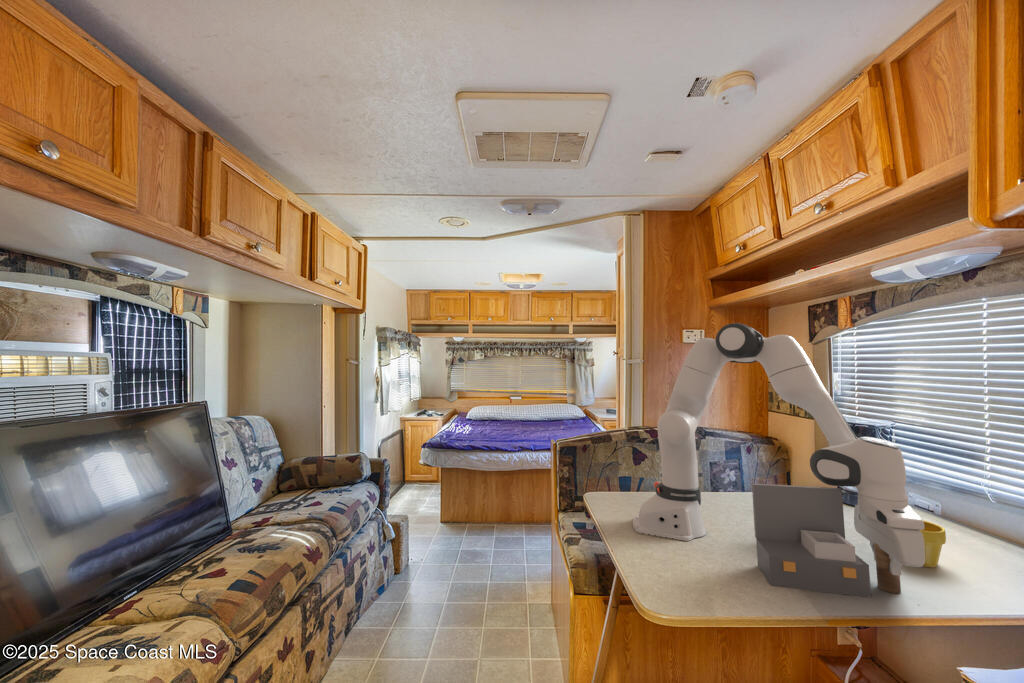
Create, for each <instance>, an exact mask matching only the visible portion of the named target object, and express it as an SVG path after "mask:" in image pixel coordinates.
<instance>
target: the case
mask: <svg viewBox="0 0 1024 683" xmlns="http://www.w3.org/2000/svg"><path fill="white" fill-rule="evenodd" d="M751 490H752V509H753V524H754V525H753V526H754V528H753V529H754V538H756V540H755V541H756V542H755V543H756V556H757V567H758V568H759V569H760V571H761V573H762V575H763V576H764V577H765V579H766V580H767V581H768V582H767V583H769V585H770V587H771V586H773V587H779V588H791V589H796V590H797V589H798V590H807V591H813V592H815V591H816V592H823V593H824V592H825V593H831V594H841V595H849V596H857V597H858V596H859V597H865V598H866V597H868V598H871V597H872V588H871V577H870V565H869V564H868V563H867V562H866V561H864V559H862V558H861V557H860V556H858V555H857V554H856V547H855V545H854V544H852V543H851V542H849V540H847V539H846V530H845V519H844V518H845V516H844V504H843V489H841V488H840V487H825V486H824V487H822V486H807V485H805V486H804V485H803V486H802V485H788V484H787V485H786V484H772V483H771V484H769V483H767V484H766V483H755V482H754V483H751Z"/></svg>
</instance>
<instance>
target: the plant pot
mask: <svg viewBox="0 0 1024 683" xmlns="http://www.w3.org/2000/svg"><path fill="white" fill-rule="evenodd" d="M922 520H923V519H922ZM923 521H924V530H920V531H921V533H922V535H923V538H924V546H925V563H924V565H923V566H922V567H925V568H937V566H938V564H939V559H940V556H941V551H942V547H943V546H944V545H945V544H946V543H947V541H946V540H947V536H946V530H945V528H944V527H943V526H941V525H940V524H936V523H933V522H931V521H927V520H923Z"/></svg>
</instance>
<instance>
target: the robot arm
mask: <svg viewBox="0 0 1024 683" xmlns="http://www.w3.org/2000/svg"><path fill="white" fill-rule="evenodd" d="M728 362H729V363H739V364H753V363H756V362H758V363H760V365H761V366H762V368H763V369H764V370H765V374H766V376H767V378H768V380H769V382H770V384H771V386H772V388H773V389H774V391H775V393H776V394H777V395H778V396H779V398H780V399H781V400H783V401H784V402H786V403H788V404H791V405H794V406H795V407H799V408H801V409H802V410H804V411H805V412H807V413H808V414H810V416H812V418H813V419H814V420H815V422H816V423H817V425H818V427H819V428H820V430H821V431H822V433H823V436H824V437H825V438H826V440H827V442H828V444H829V446H827V447H823V448H819V449H818V450H816V451H814V452H813V453H812V454H811V456H810V459H809V468H810V470H811V472H812V474H813V475H814V477H815V478H816V479H817V480H819V481H820V482H821V483H823V484H825V485H829V486H834V487H852V488H853V487H854V488H856V490H857V504H855V505H854V509H853V510H854V511H853V512H854V514H853V519H854V520H853V526H854V529H855V531H856V532H857V533H858V534H859V535H861V536H862V537H863V538H865V539H866V540H868V541H869V545H870V548H871V550H872V553H873V559H874V561H875V562H876V556H875V543H876V544H877V545H879V548H880V549H882V550H883V551H885V552H886V553H887V554H889V558H890V559H891V562H890V564H888V571H889V572H890V573H892V574H893V575H898V576H900V577H901V576H902V569H903V568H902V567H903V566H905V567H915V568H922V567H924V566H923V565H924V563H925V546H924V538H923V535H922V533H921V531H920V530H924V521H925V520H924V521H923V519H922V518H921V516H919V515H918V514H917V513H916V512H915V510H913V508H912V506H911V505H910V504H909V497H908V495H907V493H906V489H905V488H906V483H907V472H906V465H905V460H904V456H903V453H902V450H901V448H900V447H899V446H898V445H896V444H895V443H894V442H892V441H889V440H886V439H884V438H880V437H879V438H878V437H872V436H871V437H870V436H860V437H857V435H856V434H855V432H854V430H853V429H852V427H851V425H850V424H849V422H848V421H847V420H846V418H845V416H844V414H843V413H842V411H841V410H840V408H839V407H838V405H837V404H836V402H835V400H834V399H833V398H832V396H831V395H830V394H829V392H828V390H827V389H826V387H825V385H824V384H823V382H822V381H821V379H820V376H819V375H818V373H817V371H816V369H815V367H814V366H813V364H812V362H811V360H810V358H809V357H808V355H807V354H806V352H805V351H804V349H803V347H802V346H800V344H799V342H798V341H797V340H796V339H795V338H794V337H792V336H790V335H788V334H776V335H772V336H769V337H765V336H763V334H761V333H760V332H759V331H758V330H757V329H755V328H753V327H751V326H749V325H747V324H743V323H740V322H732V323H728V324H726V325H724V326H722V327H721V328H720V329H719V331H717V333H716V335H715V338H712V337H702V338H699V339H697V340H696V341H695V343H693V346H692V347H691V349H690V350H689V352H688V354H687V356H686V358H685V360H684V362H683V364H682V366H681V369H680V371H679V373H678V376H677V379H676V381H675V383H674V386H673V389H672V392H671V395H670V398H669V401H668V403H667V405H666V406H667V407H666V409H665V411H664V413H662V414H661V415H660V417H659V418H658V420H657V424H656V425H657V426H656V428H657V436H658V437H657V438H658V447H659V453H660V460H661V463H660V464H661V482H659V481H657V480H656V481H654V483H653V487H654V488H655V495H653V496H651V497H650V498H648V499H647V500H645V501H643V503H642V504H641V506H640V508H639V513H638V514H639V515H636V516H634V517H633V519H632V527H633V529H634V531H636V532H637V533H638V532H639V534H642V533H644V534H643V535H648V534H650V535H649V536H654V535H656V536H655V537H660V536H661V538H666V537H667V538H666V539H672V538H673V540H677V541H678V540H679V541H686V542H689V541H691V540H693V539H697V538H701V537H703V536H705V535H707V530H706V527H705V523H704V520H703V514H702V510H701V502H702V494H701V492H702V490H701V486H700V485H699V469H698V468H699V467H698V466H699V465H698V457H697V444H696V431H697V428H698V426H699V424H700V421H701V419H702V416H703V415H704V412H705V409H706V408H707V404H708V402H709V400H710V398H711V395H712V393H713V390H714V388H715V386H716V383H717V381H718V379H719V376H720V374H721V371H722V370H723V368H724V366H725V365H726V364H727V363H728ZM874 542H875V543H874Z"/></svg>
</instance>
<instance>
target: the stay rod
mask: <svg viewBox="0 0 1024 683" xmlns="http://www.w3.org/2000/svg"><path fill="white" fill-rule="evenodd" d="M874 543H875V542H874ZM875 556H876V561H875V567H876V580H877V581H876V582H877V587H878V588H879V589H880V590H882V591H884V592H888V593H891V594H901V593H902V588H901V585H902V584H901V575H900V576H898V575H893V574H892V573H890V572H889V571H888V564H890V562H891V559H890V558H889V554H887V553H886V552H885V551H883V550H882V549H880V548H879V545H877V544H876V543H875Z"/></svg>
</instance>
